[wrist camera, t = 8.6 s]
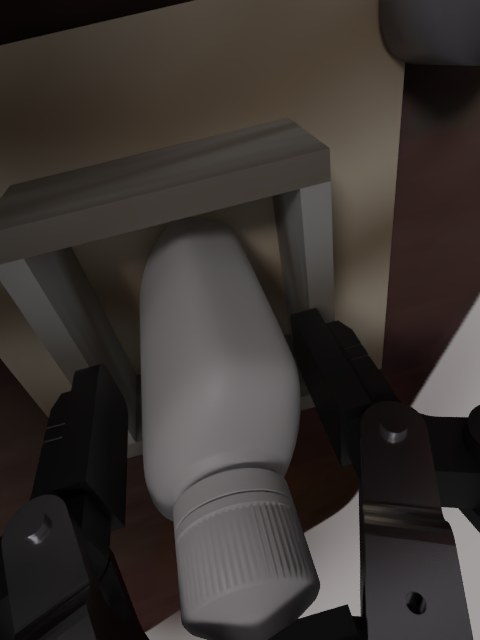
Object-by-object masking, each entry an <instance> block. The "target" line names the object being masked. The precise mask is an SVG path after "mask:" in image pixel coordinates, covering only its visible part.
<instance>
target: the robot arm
mask: <svg viewBox="0 0 480 640" xmlns="http://www.w3.org/2000/svg"><path fill="white" fill-rule="evenodd" d="M290 320H291V329H292V337H293V345H294V352H295V357H296V361H297V365H298V368H299V370H300V373H301V375H302V377H303V380H304V382H305V384H306V387H307V389H308V391H309V393H310V396H311V398H312V400H313V403H314V405H315V407H316V410H317V412H318V414H319V416H320V419H321V421H322V423H323V426H324V428H325V430H326V432H327V435H328V437H329V439H330V442H331V444H332V446H333V449H334V451H335V453H336V455H337V458H338V460H339V462H340V465H341V467H343V466H347V465H350V464H353V466H354V469H355V471H356V473H357V475H358V477H359V522H360V600H361V617H359V616H352V615H351V613H350V610H349V607H348V605H344V606H340V607H337V608H334V609H331V610H327V611H324V612H320V613H317V614H313V615H310V616H307V617H303V618H300V619H297V620H296V621H294V622H293V623H291V624H290V625H288V626H287V627H285V628H284V629H282V630H281V631H280V632H278V633H277V634H275V635H274V636H272V637H271V638H269V639H268V640H473V635H472V630H471V625H470V619H469V614H468V609H467V603H466V598H465V592H464V587H463V582H462V576H461V571H460V565H459V560H458V555H457V549H456V544H455V539H454V535H453V532H452V529H451V526H450V524H449V523H448V522H447V521H445V519H444V517H443V514H442V509H441V507H451V508H452V507H453V508H459V510H461V512H462V513H463V514H464V515H465V516H466V517H467V519H468V520H469V521H470V522H471V523H472V524H473V526H474V527H475V528H476V529H477V530H478V531H479V532H480V405H479V406H477V407H475V408H474V409H473V410H472V411H471V413H470V414H469V417H466V418H465V417H434V416H428V415H424V414H420V413H418V412H417V411H416V410H415V409H413V408H412V407H410V406H408V405H406V404H403V403H402V402H401V401H400V400H399V399H398V398H397V397H396V395H395V394H394V392H393V391H392V389H391V388H390V386H389V385H388V383H387V382H386V380H385V379H384V377H383V375H382V374H381V372H380V371H379V369H378V368H377V366H376V365H375V363H374V362H373V360H372V359H371V357H370V356H369V355H368V353H367V351H366V350H365V348H364V347H363V345H361V342H360V340H359V339H358V337H357V336H356V334H355V333H354V331H353V330H352V329H351V328H349V327H348V326H346V325H345V324H343V323H342V322H340V321H339V320H337V321H333V322H329V323H325V322H324V320H323V318H322V317H321V315H320V313H319V311H318V310H317V309H316V308H312V309H308V310H305V311H301V312H297V313H293V314H291V315H290ZM127 449H128V409H127V404H126V401H125V399H124V397H123V395H122V393H121V391H120V389H119V388H118V386H117V384H116V382H115V381H114V379H113V377H112V375H111V374H110V372H109V370H108V368H107V367H106V366H105V365H104V364H99V365H95V366H91V367H88V368H84V369H80V370H77V371H75V373H74V377H73V382H72V388H71V391H68V392H65V393H61V395H60V396H59V398H58V399H57V401H56V402H55V404H54V406H53V407H52V409H51V411H50V415H49V419H48V424H47V430H46V433H45V437H44V444H43V446H42V450H41V455H40V459H39V463H38V468H37V472H36V477H35V481H34V485H33V490H32V494H31V498H30V501H28V502H27V503H26V504H24V505H23V506H22V507H21V508H20V509H18V511H17V512H16V513H15V514H14V515H13V516H12V518H11V519H10V520H9V522H8V524H7V525H6V528H5V530H4V533H3V535H2V536H1V537H0V640H149V638H148V637H147V635H146V634H145V632H144V631H143V629H142V627H141V625H140V622H139V620H138V618H137V615H136V612H135V610H134V607H133V604H132V602H131V599H130V596H129V594H128V591H127V588H126V586H125V583H124V580H123V578H122V575H121V572H120V570H119V567H118V564H117V562H116V559H115V556H114V554H113V552H112V550H111V549H110V548H109V547H110V531H113V530H116V529H120V528H123V527H125V510H126V479H127Z"/></svg>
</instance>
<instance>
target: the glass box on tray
mask: <svg viewBox="0 0 480 640" xmlns="http://www.w3.org/2000/svg"><path fill="white" fill-rule="evenodd" d="M404 71H405V63H404V62H402V61H400V60H399V59H398V58H397V57H395V55H394V54H393V53H392V52H391V50H390V48H389V47H388V45H387V43H386V40H385V38H384V35H383V31H382V27H381V22H380V15H379V0H194V1H190V2H185V3H181V4H177V5H172V6H168V7H164V8H159V9H155V10H151V11H146V12H142V13H138V14H133V15H129V16H125V17H120V18H116V19H112V20H107V21H103V22H99V23H95V24H90V25H86V26H82V27H77V28H73V29H69V30H64V31H60V32H56V33H51V34H47V35H43V36H38V37H34V38H30V39H25V40H21V41H17V42H12V43H8V44H4V45H0V358H1V360H2V361H3V362H4V363H5V365H6V366H7V367H8V368H9V370H10V371H11V372H12V373H13V375H14V376H15V377H16V378H17V380H18V381H19V382H20V383H21V385H22V386H23V387H24V388H25V390H26V391H27V392H28V393H29V394H30V396H31V397H32V398H33V399H34V401H35V402H36V403H37V404H38V406H39V407H40V408H41V409H42V411H43V412H44V413H45V414H46V416H47V417H48V418H49V415H50V411H51V409H52V407H53V406H54V404H55V402H56V401H57V399H58V398H59V396H60V395H61V393H65V392H68V391H71V388H72V382H73V377H74V373H75V371H77V370H80V369H84V368H88V367H91V366H95V365H99V364H104V365H105V366H106V367H107V368H108V370H109V372H110V374H111V375H112V377H113V379H114V381H115V382H116V384H117V386H118V388H119V389H120V391H121V393H122V395H123V397H124V399H125V401H126V404H127V409H128V449H127V458H130V457H134V456H138V455H141V454H143V437H142V397H141V352H140V288H141V281H142V277H143V272H144V269H145V266H146V263H147V260H148V258H149V255H150V253H151V251H152V249H153V247H154V245H155V243H156V242H157V240H158V238H159V237H160V235H161V234H162V232H163V231H164V230H165V228H166V227H167V226H168V225H169V223H170V222H171V221H175V220H179V219H183V218H187V217H196V218H201V219H206V220H211V221H215V222H220V223H224V224H226V225H228V226H230V227H232V228H233V230H234V231H235V233H236V235H237V237H238V239H239V241H240V243H241V245H242V247H243V249H244V251H245V253H246V255H247V258H248V260H249V262H250V264H251V266H252V268H253V270H254V272H255V274H256V277H257V279H258V281H259V283H260V285H261V287H262V289H263V291H264V294H265V296H266V298H267V300H268V302H269V304H270V306H271V309H272V311H273V313H274V315H275V317H276V319H277V321H278V324H279V326H280V328H281V330H282V332H283V335H284V337H285V339H286V342H287V344H288V346H289V349H290V351H291V353H292V356H293V358H294V360H295V364H296V367H297V371H298V376H299V382H300V393H301V411H302V410H305V409H309V408H313V407H315V405H314V403H313V400H312V398H311V396H310V393H309V391H308V389H307V387H306V384H305V382H304V380H303V377H302V375H301V373H300V370H299V368H298V365H297V361H296V357H295V352H294V345H293V337H292V329H291V320H290V315H291V314H293V313H297V312H301V311H305V310H308V309H312V308H316V309H317V310H318V311H319V313H320V315H321V317H322V318H323V320H324V322H325V323H329V322H333V321H337V320H339V321H340V322H342V323H343V324H345V325H346V326H348V327H349V328H351V329H352V330H353V331H354V333H355V334H356V336H357V337H358V339H359V340H360V342H361V345H363V347H364V348H365V350H366V351H367V353H368V355H369V356H370V357H371V359H372V360H373V362H374V363H375V365H376V366H377V368H378V369H382V356H383V343H384V330H385V317H386V304H387V291H388V278H389V265H390V252H391V239H392V226H393V213H394V200H395V187H396V174H397V162H398V149H399V136H400V123H401V110H402V97H403V84H404Z"/></svg>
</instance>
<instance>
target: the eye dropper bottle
mask: <svg viewBox="0 0 480 640" xmlns="http://www.w3.org/2000/svg"><path fill="white" fill-rule="evenodd" d="M140 352H141V397H142V437H143V463H144V474H145V481H146V485H147V489H148V492H149V494H150V497H151V499H152V501H153V503H154V505H155V506H156V508H157V509H158V510H159V512H160V513H161V514H162V515H163V516H165V517H166V518H168V519H170V520H172V521H174V533H175V545H176V558H177V570H178V583H179V595H180V608H181V620H182V625H183V626H184V628H185V629H186V630H187V631H188V632H190V633H191V634H192V635H194V636H197V637H200V638H204V639H207V640H268V639H269V638H271V637H272V636H274V635H275V634H277V633H278V632H280V631H281V630H282V629H284V628H285V627H287V626H288V625H290V624H291V623H293V622H294V621H296V620H297V619H298V617H300V616H301V615H302V614H303V613H304V612H305V610H306V609H307V608H308V607H309V606H310V605H311V604H312V603H313V602H314V601H315V599H316V597H317V595H318V592H319V589H320V581H319V578H318V575H317V572H316V569H315V566H314V563H313V560H312V557H311V554H310V551H309V548H308V545H307V542H306V539H305V536H304V533H303V530H302V527H301V524H300V521H299V518H298V515H297V512H296V509H295V506H294V503H293V500H292V497H291V493H290V490H289V487H288V484H287V482H286V480H285V479H284V476H285V474H286V472H287V470H288V467H289V464H290V462H291V459H292V456H293V453H294V449H295V445H296V441H297V436H298V431H299V423H300V414H301V393H300V382H299V376H298V371H297V367H296V364H295V360H294V358H293V356H292V353H291V351H290V349H289V346H288V344H287V342H286V339H285V337H284V335H283V332H282V330H281V328H280V326H279V324H278V321H277V319H276V317H275V315H274V313H273V311H272V309H271V306H270V304H269V302H268V300H267V298H266V296H265V294H264V291H263V289H262V287H261V285H260V283H259V281H258V279H257V277H256V274H255V272H254V270H253V268H252V266H251V264H250V262H249V260H248V258H247V255H246V253H245V251H244V249H243V247H242V245H241V243H240V241H239V239H238V237H237V235H236V233H235V231H234V230H233V228H232V227H230V226H228V225H226V224H224V223H220V222H215V221H211V220H206V219H201V218H196V217H187V218H183V219H179V220H175V221H171V222H170V223H169V225H168V226H167V227H166V228H165V230H164V231H163V232H162V234H161V235H160V237H159V238H158V240H157V242H156V243H155V245H154V247H153V249H152V251H151V253H150V255H149V258H148V260H147V263H146V266H145V269H144V272H143V277H142V281H141V288H140Z"/></svg>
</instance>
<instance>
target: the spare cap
mask: <svg viewBox="0 0 480 640" xmlns="http://www.w3.org/2000/svg"><path fill="white" fill-rule="evenodd" d="M379 15H380V22H381V27H382V31H383V35H384V38H385V40H386V43H387V45H388V47H389V48H390V50H391V52H392V53H393V54H394V55H395V57H397V58H398V59H399V60H400V61H402V62H404V63H407V64H417V65H464V66H479V65H480V0H379Z"/></svg>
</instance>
